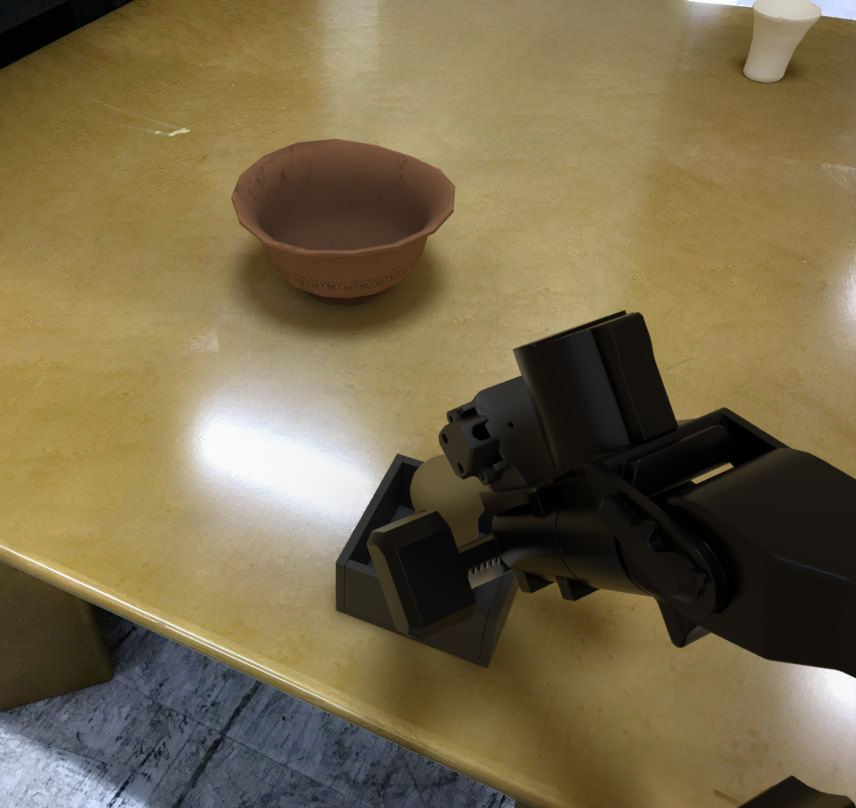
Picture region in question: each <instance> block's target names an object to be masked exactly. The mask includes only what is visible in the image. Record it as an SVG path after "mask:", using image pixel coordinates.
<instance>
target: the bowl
mask: <svg viewBox="0 0 856 808" xmlns="http://www.w3.org/2000/svg"><path fill="white" fill-rule="evenodd" d="M230 198H231V203H232V205H233V209H234V211H235V214H236V217H237V221H238V223H239V225H240V226H241V227H243V228H244V229H245V230H246V231H247V232H248V233H250V234H251V235H252V236H253V237H255V238H256V239H257V240H258V241H259V242H260V243H262V245H263V248H264V250H265V254H266V256H267V258H268V260H269V263H270V265H271V267H272V269H273V270H274V271H275V272H276V273H277V275H279V276H280V277H282V278H283V280H285V281H287V282H288V283H289V284H291V285H292V286H293V287H295V288H296V289H298V290H301V291H304V292H305V293H306V294H308V295H309V296H310V297H311V298H313V300H316V301H318V302H321V303H324V304H327V305H329V306H330V305H331V306H343V307H348V306H355V305H360V304H364V303H366V302H368V301H370V300H373V299H375V298H377V297H378V296H379V295H380V293H381V292H383V291H384V290H387V289H389V288H391V287H394V286H395V285H397V284H398V283H400V282H402V280H403V279H404V278H405V277H406V276H408V274H409V273H410V272H411V270H412V269H413V268H414V267H415V266H416V265H417V263H418V262H419V261H420V259H421V257H422V255H423V252H424V250H425V246H426V243H427V240H428V237H429V236H432V235H434V234H435V233H436V232H437V231H438V230H439V229H440V228H441V227H442V226H443V225H444V223H446V222H447V220H448V219H449V218H450V217H452V215H453V214H454V211H455V199H456V186H455V184H454V183H453V182H452V181H451V180H450V179H449V178H448V177H447V175H446V174H445V172H443V171H442V169H440V168H438V167H436V166H434V165H431V164H429V163H427V162H426V161H423V160H421V159H418V158H417V157H414V156H413V155H412V156H411V155H409V154H405V153H402V152H399V151H397V150H393V149H391V148H387V147H385V146H384V147H383V146H381V145H378V144H372V143H366V142H360V141H353V140H348V139H347V140H346V139H339V138H329V139H319V140H308V141H299V142H294V143H292V144H289V145H287V146H285V147H281V148H280V149H277V150H275V151H271V152H270V153H267V154H264V155H262V156H261V157H260V158H259V159H257V160H256V161H255V162H254V163H252V164H251V166H249V167H248V168H247V169H245V170H244V171H243V172H242V173H241V174H239V176H238V179H237V182H236V184H235V187H234V188H233V191H232V194H231V196H230Z"/></svg>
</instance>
